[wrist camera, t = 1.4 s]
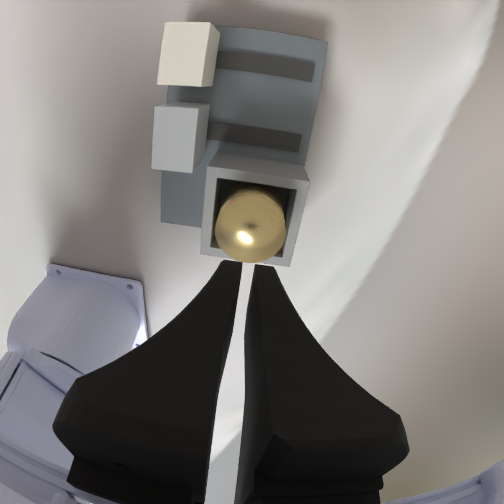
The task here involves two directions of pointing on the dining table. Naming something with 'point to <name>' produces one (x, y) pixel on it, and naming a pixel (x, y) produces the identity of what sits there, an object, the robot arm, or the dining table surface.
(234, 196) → the brass button
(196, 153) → the grey rectangular block
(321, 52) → the panel board
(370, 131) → the dining table surface
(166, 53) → the cream rectangular prism
